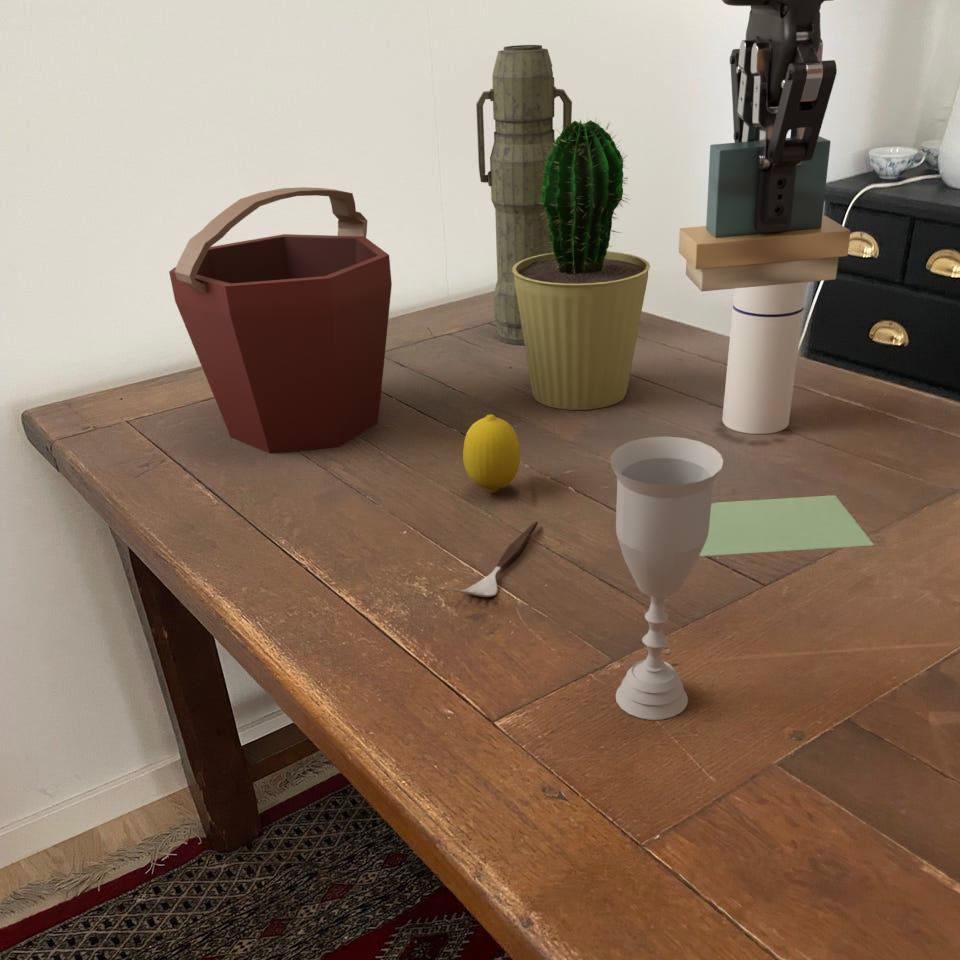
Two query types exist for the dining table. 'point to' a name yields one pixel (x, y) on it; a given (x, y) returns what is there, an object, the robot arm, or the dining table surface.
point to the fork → (499, 567)
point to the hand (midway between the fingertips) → (764, 224)
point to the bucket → (289, 325)
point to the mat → (781, 526)
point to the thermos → (518, 167)
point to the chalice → (661, 549)
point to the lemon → (491, 453)
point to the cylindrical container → (763, 357)
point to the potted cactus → (581, 279)
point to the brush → (744, 250)
